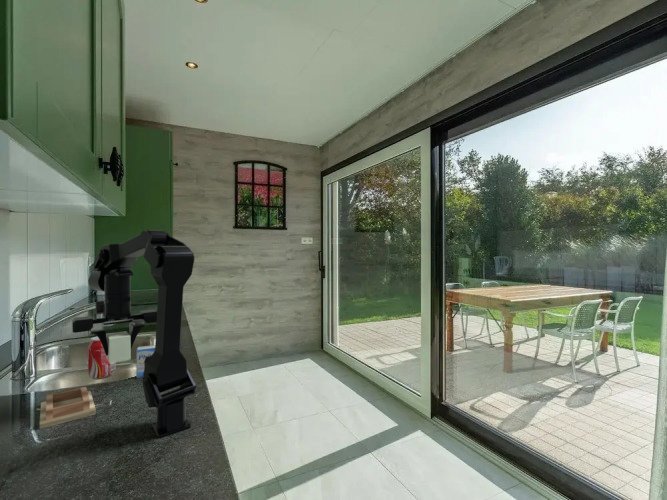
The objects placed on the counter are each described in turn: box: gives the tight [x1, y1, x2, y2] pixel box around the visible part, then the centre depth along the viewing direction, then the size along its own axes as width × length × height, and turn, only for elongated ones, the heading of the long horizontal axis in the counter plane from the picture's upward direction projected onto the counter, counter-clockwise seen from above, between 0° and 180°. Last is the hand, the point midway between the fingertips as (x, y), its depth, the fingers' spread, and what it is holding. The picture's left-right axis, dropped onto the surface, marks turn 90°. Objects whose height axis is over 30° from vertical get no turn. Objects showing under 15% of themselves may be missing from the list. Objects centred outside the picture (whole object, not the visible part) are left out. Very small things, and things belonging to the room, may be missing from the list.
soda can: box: [87, 335, 117, 381], centre depth 103 cm, size 7×7×12 cm
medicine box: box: [135, 345, 155, 379], centre depth 105 cm, size 8×4×9 cm, turn 114°
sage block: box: [106, 330, 132, 363], centre depth 86 cm, size 4×7×6 cm, turn 40°
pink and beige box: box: [39, 386, 97, 430], centre depth 81 cm, size 14×10×3 cm
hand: (118, 353), depth 86 cm, fingers closed on sage block, 4 cm apart
